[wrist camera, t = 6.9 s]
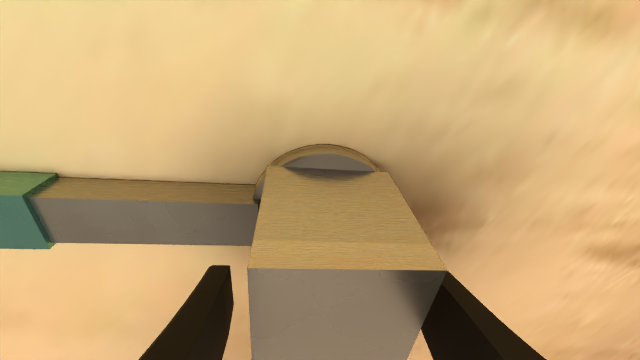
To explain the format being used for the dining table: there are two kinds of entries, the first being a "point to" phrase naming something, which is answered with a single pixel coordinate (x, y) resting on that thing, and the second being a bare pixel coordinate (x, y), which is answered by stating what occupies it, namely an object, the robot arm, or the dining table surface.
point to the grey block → (337, 268)
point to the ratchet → (144, 206)
